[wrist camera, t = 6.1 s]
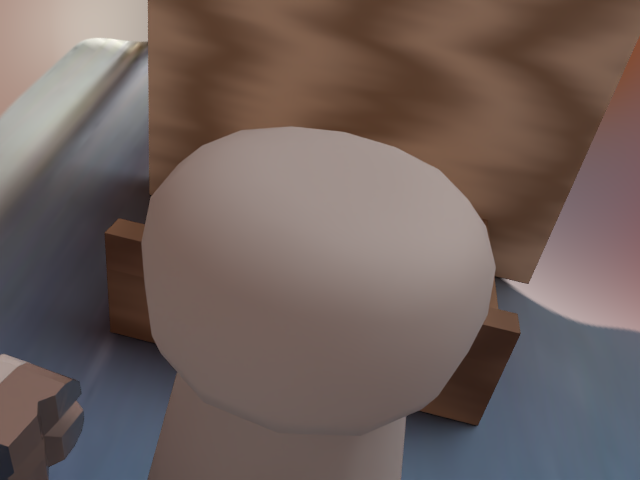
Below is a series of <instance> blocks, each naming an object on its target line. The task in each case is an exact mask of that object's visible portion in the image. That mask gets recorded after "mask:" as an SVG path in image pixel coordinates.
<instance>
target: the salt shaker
mask: <svg viewBox="0 0 640 480" xmlns="http://www.w3.org/2000/svg"><path fill="white" fill-rule="evenodd" d="M141 245H142V258H143V270H144V282H145V290H146V297H147V305H148V312H149V319H150V326H151V334H152V337H153V339H154V341H155V343H156V345H157V347H158V349H159V351H160V353H161V354H162V355H163V357H164V358H165V359H166V360H167V361H168V362H169V363H170V365H171V366H172V367H173V368H174V369H175V370H176V371H177V374H176V378H175V381H174V385H173V389H172V392H171V396H170V400H169V403H168V407H167V411H166V414H165V418H164V421H163V425H162V429H161V432H160V436H159V440H158V443H157V447H156V451H155V454H154V458H153V461H152V465H151V469H150V472H149V476H148V480H401V471H402V460H403V448H404V436H405V425H406V416H407V415H410V414H412V413H414V412H417V411H419V410H421V409H423V408H424V407H425V406H427V405H428V404H429V403H430V402H431V401H433V400H434V399H435V398H436V397H437V396H438V395H439V394H440V392H441V391H442V389H443V388H444V386H445V385H446V384H447V382H448V381H449V379H450V378H451V376H452V375H453V373H454V372H455V371H456V369H457V368H458V366H459V365H460V363H461V362H462V360H463V359H464V357H465V356H466V355H467V353H468V352H469V350H470V348H471V346H472V344H473V342H474V340H475V338H476V336H477V334H478V332H479V330H480V328H481V327H482V325H483V323H484V321H485V319H486V317H487V315H488V310H489V304H490V299H491V293H492V287H493V281H494V275H495V270H496V266H495V262H494V258H493V253H492V249H491V245H490V241H489V237H488V233H487V228H486V226H485V224H484V223H483V221H482V220H481V218H480V217H479V215H478V213H477V212H476V210H475V209H474V207H473V206H472V204H471V203H470V201H469V200H468V199H467V198H466V197H465V196H464V195H463V193H462V192H461V191H460V190H459V189H458V188H457V187H456V186H455V185H454V184H453V183H452V182H451V181H450V180H449V179H448V178H447V177H446V176H445V175H444V174H443V173H442V172H441V171H440V170H439V169H437V168H435V167H433V166H431V165H429V164H427V163H425V162H423V161H421V160H419V159H418V158H416V157H414V156H412V155H410V154H408V153H406V152H404V151H402V150H400V149H398V148H396V147H393V146H390V145H387V144H383V143H380V142H377V141H373V140H370V139H367V138H363V137H360V136H356V135H353V134H350V133H346V132H340V131H331V130H321V129H312V128H303V127H293V126H289V127H276V128H263V129H250V130H240V131H238V132H235V133H233V134H230V135H228V136H225V137H223V138H220V139H217V140H215V141H212V142H210V143H207V144H205V145H202V146H201V147H200V148H198V149H197V150H196V151H194V152H193V153H192V154H191V155H189V156H188V157H187V158H185V159H184V160H183V161H182V162H180V163H179V164H178V165H177V166H176V167H175V169H174V170H173V171H172V172H171V173H170V175H169V176H168V177H167V178H166V179H165V180H164V182H163V183H162V184H161V185H160V186H159V188H158V189H157V190H156V191H155V192H154V194H153V195H152V196H151V198H150V203H149V208H148V212H147V217H146V222H145V227H144V232H143V237H142V242H141Z"/></svg>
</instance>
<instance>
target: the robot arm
mask: <svg viewBox="0 0 640 480" xmlns="http://www.w3.org/2000/svg"><path fill="white" fill-rule="evenodd" d="M81 394H82V393H81V387H80V381H77V380H75V379H72V378H69V377H66V376H64V375H61V374H58V373H55V372H52V371H50V370H47V369H44V368H41V367H39V366H36V365H33V364H30V363H28V362H26V361H23V360H20V359H17V358H14V357H11V356H8V355H5V354H2V355H0V480H48V478H49V467H50V466H52V465H54V464H56V463H58V462H60V461H62V460H65V458H66V457H67V456H68V454H69V453H70V452H71V450H72V449H73V448H74V446H75V444H76V442H77V440H78V438H79V436H80V434H81V432H82V428H83V423H84V412H83V409H82V408H81V406H80V405H79V404H78V402H77V401H76V400H77V399H78V397H79V396H80V395H81Z"/></svg>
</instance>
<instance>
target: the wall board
mask: <svg viewBox="0 0 640 480" xmlns="http://www.w3.org/2000/svg"><path fill="white" fill-rule="evenodd" d="M639 36H640V0H148V76H149V195H153V194H154V192H155V191H156V190H157V189H158V188H159V186H160V185H161V184H162V183H163V182H164V180H165V179H166V178H167V177H168V176H169V175H170V173H171V172H172V171H173V170H174V169H175V167H176V166H177V165H178V164H179V163H180V162H182V161H183V160H184V159H185V158H187V157H188V156H189V155H191V154H192V153H193V152H194V151H196V150H197V149H198V148H200V147H201V146H202V145H205V144H207V143H210V142H212V141H215V140H217V139H220V138H223V137H225V136H228V135H230V134H233V133H235V132H238V131H240V130H250V129H263V128H276V127H289V126H293V127H303V128H312V129H321V130H331V131H340V132H346V133H350V134H353V135H356V136H360V137H363V138H367V139H370V140H373V141H377V142H380V143H383V144H387V145H390V146H393V147H396V148H398V149H400V150H402V151H404V152H406V153H408V154H410V155H412V156H414V157H416V158H418V159H419V160H421V161H423V162H425V163H427V164H429V165H431V166H433V167H435V168H437V169H439V170H440V171H441V172H442V173H443V174H444V175H445V176H446V177H447V178H448V179H449V180H450V181H451V182H452V183H453V184H454V185H455V186H456V187H457V188H458V189H459V190H460V191H461V192H462V193H463V195H464V196H465V197H466V198H467V199H468V200H469V201H470V203H471V204H472V206H473V207H474V209H475V210H476V212H477V213H478V215H479V217H480V218H482V219H486V220H488V227H489V235H490V244H491V249H492V253H493V258H494V262H495V266H496V270H495V275H494V276H497V277H501V278H505V279H509V280H514V281H518V282H522V283H527V284H529V281H530V279H531V277H532V275H533V272H534V270H535V268H536V266H537V263H538V261H539V259H540V257H541V254H542V252H543V250H544V248H545V246H546V243H547V241H548V239H549V237H550V234H551V232H552V230H553V228H554V226H555V223H556V221H557V219H558V217H559V214H560V212H561V210H562V208H563V205H564V203H565V201H566V199H567V196H568V194H569V192H570V190H571V188H572V185H573V183H574V181H575V178H576V176H577V174H578V172H579V170H580V167H581V165H582V162H583V161H584V159H585V156H586V154H587V152H588V150H589V147H590V145H591V142H592V141H593V138H594V136H595V134H596V132H597V129H598V127H599V125H600V122H601V121H602V118H603V116H604V114H605V112H606V109H607V107H608V105H609V102H610V100H611V98H612V96H613V94H614V91H615V89H616V87H617V85H618V83H619V80H620V78H621V76H622V74H623V71H624V69H625V67H626V64H627V62H628V60H629V58H630V56H631V53H632V51H633V49H634V47H635V45H636V42H637V40H638V38H639Z"/></svg>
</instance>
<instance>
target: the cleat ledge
mask: <svg viewBox="0 0 640 480" xmlns="http://www.w3.org/2000/svg"><path fill="white" fill-rule="evenodd" d="M481 220H482V221H483V223H484V224H485V226H486V228H487V233H488V237H489V241H490V235H489V227H488V220H486V219H482V218H481ZM144 227H145V224H141V223H136V222H132V221H128V220H124V219H120V218H119V219H118V220H117V221H116V222H115V223H114V224H113V225H112V226H111V227H110V228H109V229H108V230H107V231H106V232H105V247H106V264H107V281H108V299H109V316H110V332H113V333H117V334H121V335H125V336H128V337H132V338H136V339H140V340H144V341H148V342H152V343H155V341H154V339H153V337H152V334H151V326H150V319H149V312H148V305H147V297H146V290H145V282H144V270H143V258H142V245H141V242H142V237H143V232H144ZM490 245H491V244H490ZM520 334H521V333H520V327H519V321H518V314H516V313H511V312H507V311H503V310H499V309H498V303H497V294H496V286H495V278H494V281H493V287H492V293H491V299H490V304H489V310H488V315H487V317H486V319H485V321H484V323H483V325H482V327H481V328H480V330H479V332H478V334H477V336H476V338H475V340H474V342H473V344H472V346H471V348H470V350H469V352H468V353H467V355H466V356H465V357H464V359H463V360H462V362H461V363H460V365H459V366H458V368H457V369H456V371H455V372H454V373H453V375H452V376H451V378H450V379H449V381H448V382H447V384H446V385H445V386H444V388H443V389H442V391H441V392H440V394H439V395H438V396H437V397H436V398H435V399H434V400H433V401H431V402H430V403H429V404H428V405H427V406H425V407H424V408H423V409H421V410H419V411H422V412H426V413H430V414H434V415H438V416H442V417H446V418H450V419H454V420H457V421H461V422H465V423H469V424H473V425H477V426H478V424H479V422H480V420H481V417H482V415H483V413H484V411H485V409H486V407H487V405H488V402H489V400H490V398H491V396H492V394H493V392H494V390H495V387H496V385H497V383H498V381H499V379H500V377H501V375H502V372H503V370H504V368H505V366H506V364H507V362H508V360H509V357H510V355H511V353H512V351H513V349H514V347H515V345H516V342H517V340H518V338H519V336H520Z"/></svg>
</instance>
